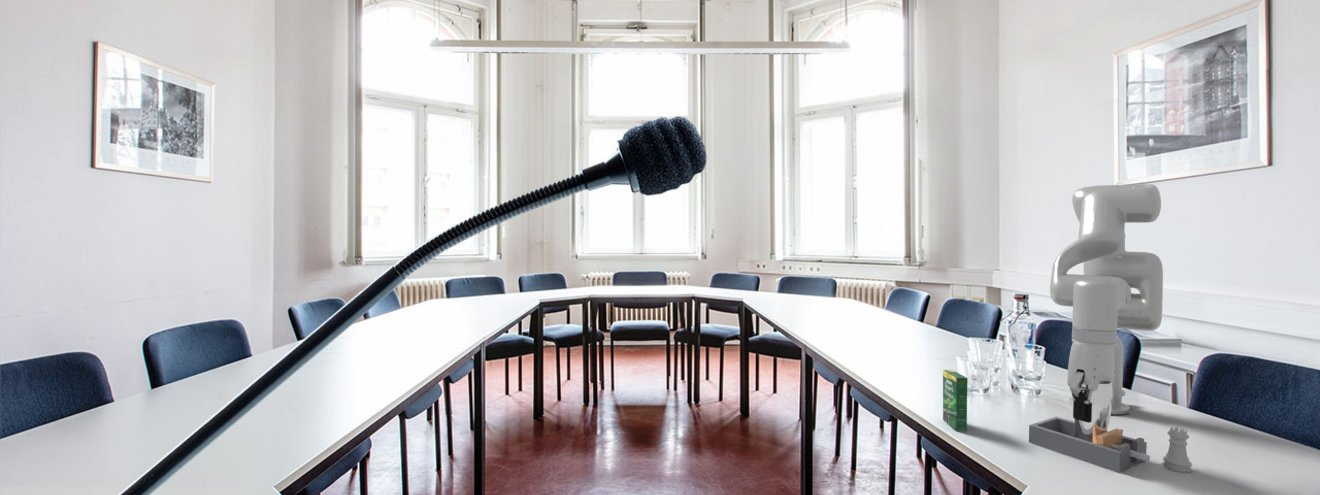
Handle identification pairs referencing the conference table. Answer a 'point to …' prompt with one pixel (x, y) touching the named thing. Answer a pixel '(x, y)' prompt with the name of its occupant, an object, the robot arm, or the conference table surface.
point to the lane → (1085, 445)
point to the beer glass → (1096, 413)
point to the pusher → (1117, 443)
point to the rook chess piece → (1177, 452)
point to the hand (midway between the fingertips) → (1091, 416)
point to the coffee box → (955, 400)
